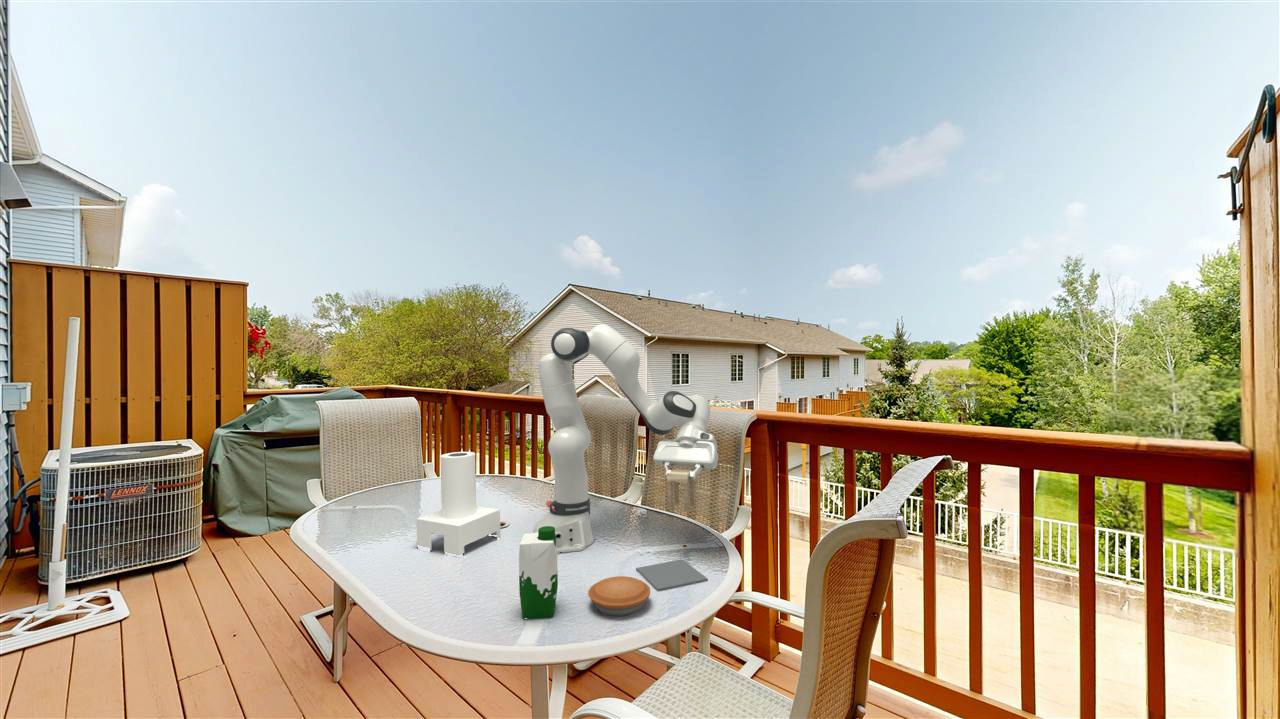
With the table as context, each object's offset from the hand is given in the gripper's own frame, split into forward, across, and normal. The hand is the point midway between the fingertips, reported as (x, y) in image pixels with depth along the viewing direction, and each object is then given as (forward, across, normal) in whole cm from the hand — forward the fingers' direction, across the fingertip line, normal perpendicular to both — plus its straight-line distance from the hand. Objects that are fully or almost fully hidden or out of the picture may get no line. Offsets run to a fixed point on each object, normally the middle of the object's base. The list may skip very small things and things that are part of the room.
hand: (680, 477), depth 155 cm
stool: (+6, 0, +7) cm, 9 cm away
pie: (+41, -4, -6) cm, 41 cm away
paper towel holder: (+28, -74, +6) cm, 79 cm away
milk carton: (+48, -21, -14) cm, 54 cm away
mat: (+26, +1, +9) cm, 27 cm away
